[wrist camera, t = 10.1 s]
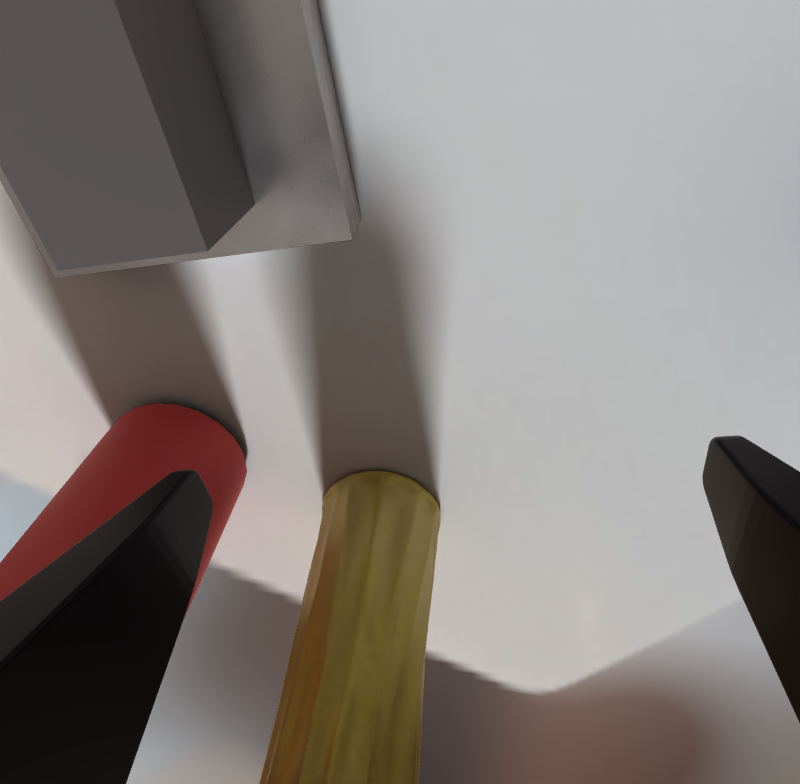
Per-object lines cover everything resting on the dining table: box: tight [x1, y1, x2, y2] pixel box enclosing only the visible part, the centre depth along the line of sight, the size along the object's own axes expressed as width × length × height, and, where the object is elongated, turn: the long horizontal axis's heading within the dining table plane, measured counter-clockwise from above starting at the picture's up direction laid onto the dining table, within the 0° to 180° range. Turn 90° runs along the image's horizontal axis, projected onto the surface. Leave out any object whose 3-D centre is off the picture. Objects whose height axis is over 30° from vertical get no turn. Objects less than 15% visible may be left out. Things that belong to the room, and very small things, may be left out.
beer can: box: [0, 403, 247, 618], centre depth 22 cm, size 7×7×12 cm
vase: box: [259, 471, 440, 784], centre depth 22 cm, size 6×6×14 cm
